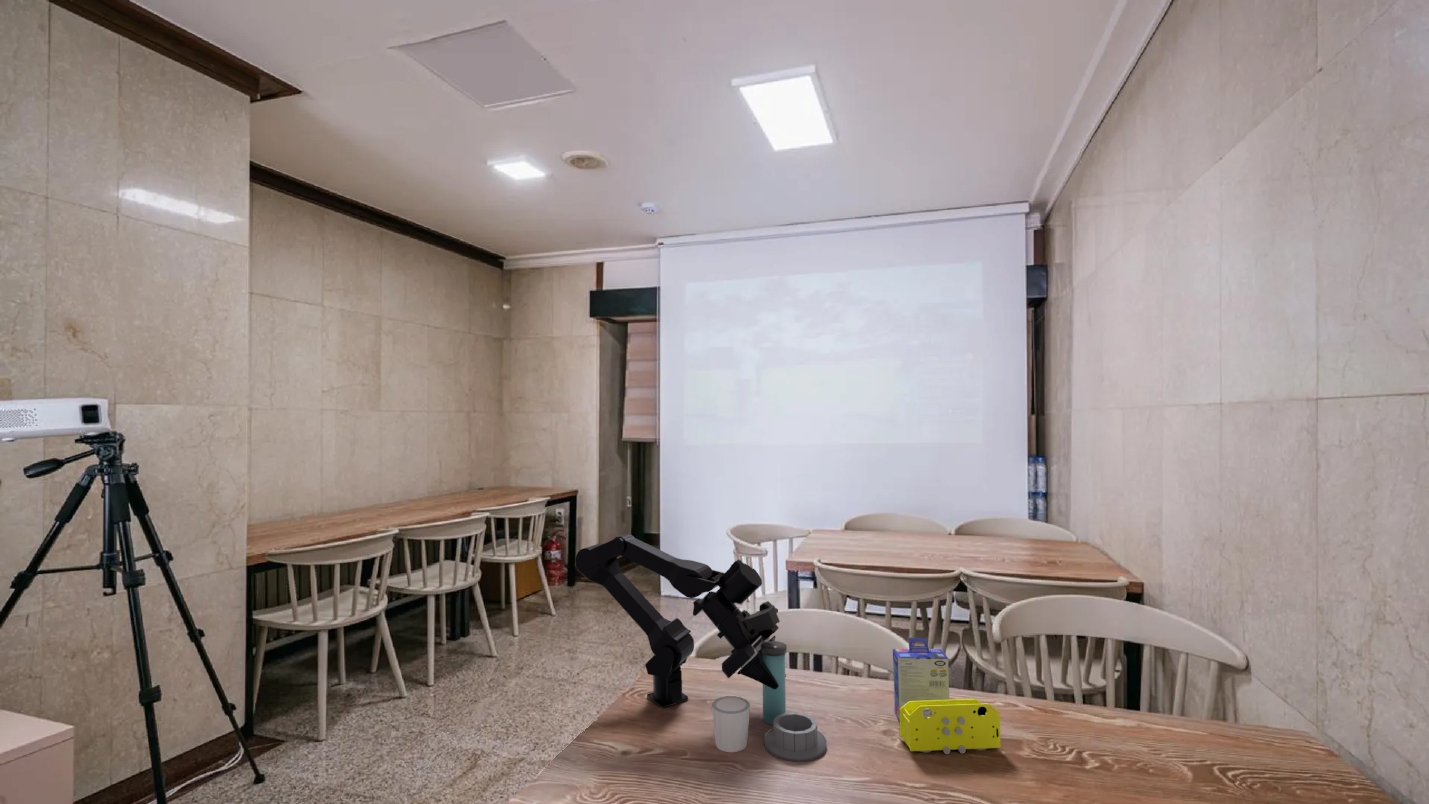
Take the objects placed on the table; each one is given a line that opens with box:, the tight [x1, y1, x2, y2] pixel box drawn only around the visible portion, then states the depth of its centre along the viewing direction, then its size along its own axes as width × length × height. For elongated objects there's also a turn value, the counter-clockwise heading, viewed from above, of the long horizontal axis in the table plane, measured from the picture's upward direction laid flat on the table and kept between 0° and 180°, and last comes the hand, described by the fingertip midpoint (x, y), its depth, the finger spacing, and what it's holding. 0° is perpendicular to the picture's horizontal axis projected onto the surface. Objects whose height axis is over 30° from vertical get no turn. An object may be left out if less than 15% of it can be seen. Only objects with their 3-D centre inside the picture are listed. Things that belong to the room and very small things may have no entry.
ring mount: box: [763, 711, 828, 763], centre depth 107 cm, size 11×11×4 cm
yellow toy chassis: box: [899, 698, 1002, 755], centre depth 107 cm, size 16×6×8 cm, turn 93°
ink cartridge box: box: [892, 637, 950, 722], centre depth 118 cm, size 10×6×14 cm, turn 86°
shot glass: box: [711, 695, 751, 753], centre depth 108 cm, size 7×7×7 cm
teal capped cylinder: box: [761, 640, 788, 726], centre depth 117 cm, size 5×5×14 cm
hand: (780, 682), depth 116 cm, fingers closed on teal capped cylinder, 4 cm apart
